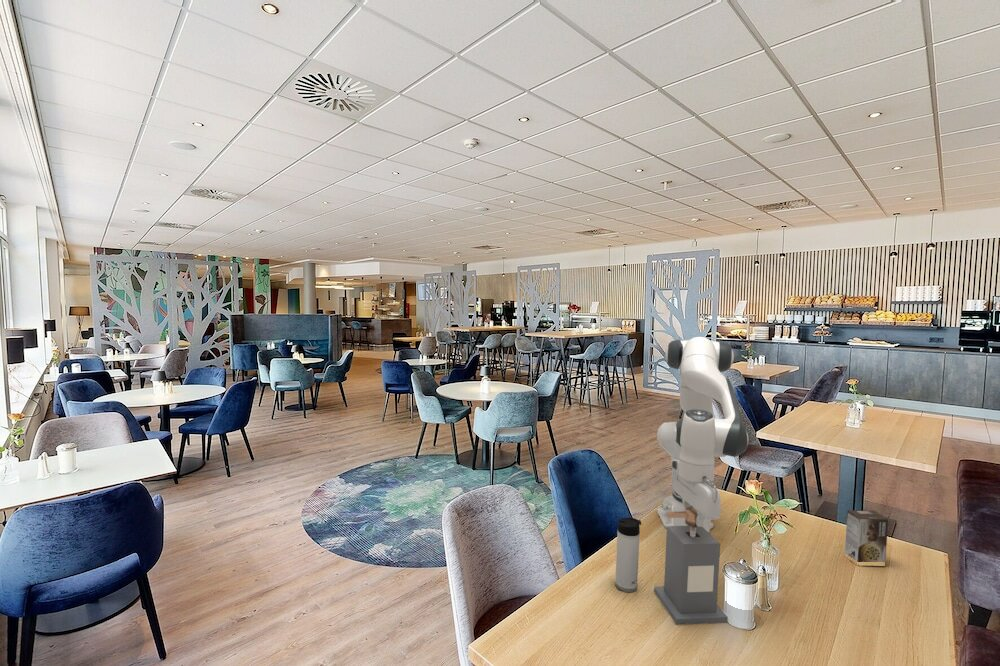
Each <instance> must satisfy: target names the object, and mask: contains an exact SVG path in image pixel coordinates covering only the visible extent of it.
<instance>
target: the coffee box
mask: <svg viewBox="0 0 1000 666" xmlns="http://www.w3.org/2000/svg"><path fill="white" fill-rule="evenodd" d="M888 526H889V519H888V518H887V517H885V516H883V515H882V514H881V513H879V512H877V511H875V510H859V509H858V510H853V509H852V510H849V509H847V513H846V527H845V528H846V529H845V541H844V543H845V545H844V554H847V555H848V556H850V557H851V558H853V559H854V560H856V561H857V562H885V563H886V558H887V545H888V531H889V530H888Z"/></svg>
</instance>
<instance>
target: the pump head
mask: <svg viewBox="0 0 1000 666" xmlns="http://www.w3.org/2000/svg"><path fill="white" fill-rule="evenodd" d="M697 516H698V514H697V510H696V509H694V508H693V507H688V508H686V509H685V511H678V512H667V517H668V518H685V524H687V525H688V526H690V537H695V536H696V527H698V526H697V525H696V524H695V518H697Z"/></svg>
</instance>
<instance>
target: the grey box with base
mask: <svg viewBox="0 0 1000 666" xmlns="http://www.w3.org/2000/svg"><path fill="white" fill-rule="evenodd" d="M665 538H666V539H665V541H666V542H665V558H664V559H665V561H664V563H665V564H664V578H663V579H664V583H663V585H662V586H661V585H660V586H653V593H654V594H655V595H656V597H657V598H658V600H659V602H660V603H661V604H662V605H663V608H664V609H665V610H666V612H667V614H669V616H670V618H671V619H672V620H673V622H674V623H675V625H700V624H703V625H705V624H725V623H727V624H728V622H729V621H728V616H727V615H726V613H725V612H724V611H723V610H722V609H721V607H720V606H719V605H718V589H719V574H720V573H719V570H720V569H719V568H720V559H721V558H720V557H721V543H720V541H718V540H717V538H715V537H714V536H713V535H712V534H711V533H710V532H707V531H706V530H705V529H704V528H703V527H696V536H695V537H690V526H667V528H666V537H665Z"/></svg>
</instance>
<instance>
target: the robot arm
mask: <svg viewBox="0 0 1000 666" xmlns="http://www.w3.org/2000/svg"><path fill="white" fill-rule="evenodd" d="M732 347H733V346H732V345H731V344H730V343H728V342H724V341H720V340H719V341H715V340H710V339H709V338H708V337H704V336H696V337H695V336H694V337H692V338H689V339H686V340H685V339H684V340H680V339H675V340H671V341H670V342H669V343H668V345H667V346H666V349H665V361H666V364H667V365H668V366H669V367H670V368H672V369H675V370H680V376H681V377H680V378H681V379H680V388H679V389H680V390H679V407H680V408H681V410H682V411H683V412H684V414H683V417H681V418H680V419H679V420H678V421H668V422H663V423H662V424H660V426H659V427H658V429H657V433H656V438H657V441H658V444H659V445H660V447H661V448H663V449H664V450H665V452H667V454H668V455H669V457H670V458H671V460H670V466H671V468H672V469H671V487H672V493H671V494H670V495H668V496H667V497H665V498H664V499H663V503H661V506H660V507H658V509H657V508H656V513H657V514H659V515H658V516H660V517H659V518H660V519H659V520H660V521H661V523H662V524H663V527H664V528H665V529H667V526H688V525H687V524H685V518H668V517H667V512H678V511H685V509H686V508H688V507H693V508H694V509H696V510H697V514H698V516H697V518H695V524H696V525H697V526H698V527H703V528H704V529H705V530H706V531H707V532H709V533H710V532H711V529H712V528H714V527H713V526H714V523H713V522H711V521H712V520H719V519H720V518H721V517H722V516H721V515H722V503H721V501H722V500H721V493H720V491H719V489H718V488H717V487H716V483H715V482H714V479H715V464H716V463H715V458H724V457H726V456H729V457H733V458H737V457H739V456H740V455H742V454H743V453H744V452H746V451H747V450H748V446H749V433H748V431H747V427H746V424H745V422H744V420H743V418H742V415H741V410H740V407H739V403H738V400H737V397H736V394H735V390H734V388H733V384H732V383H731V380H730V379H729V378H728V377H726V376H724V375H723V374H722V373H723V372H726V371H729V369H731V366H732V365H733V363H734V361H735V360H734V359H735V353H734V350H733V348H732ZM713 400H715V401H717V402H718V403H719V405H721V409H722V413H723V417H724V418H716V415H715V413H714V406H713ZM661 507H662V508H661ZM660 508H661V509H660ZM657 510H658V511H657Z"/></svg>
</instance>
